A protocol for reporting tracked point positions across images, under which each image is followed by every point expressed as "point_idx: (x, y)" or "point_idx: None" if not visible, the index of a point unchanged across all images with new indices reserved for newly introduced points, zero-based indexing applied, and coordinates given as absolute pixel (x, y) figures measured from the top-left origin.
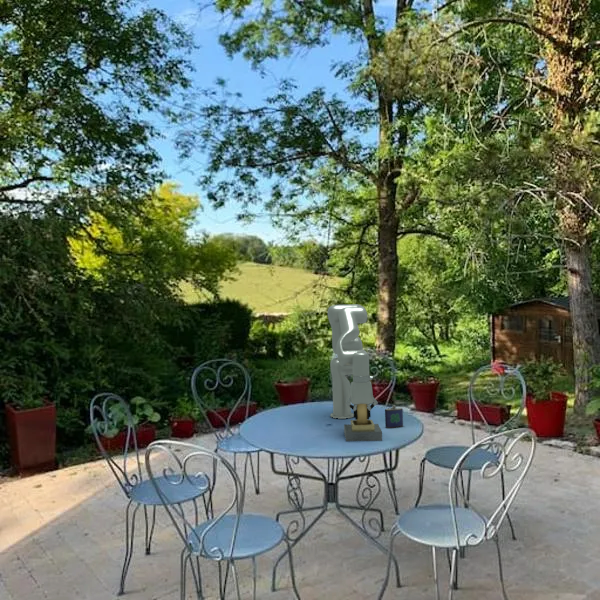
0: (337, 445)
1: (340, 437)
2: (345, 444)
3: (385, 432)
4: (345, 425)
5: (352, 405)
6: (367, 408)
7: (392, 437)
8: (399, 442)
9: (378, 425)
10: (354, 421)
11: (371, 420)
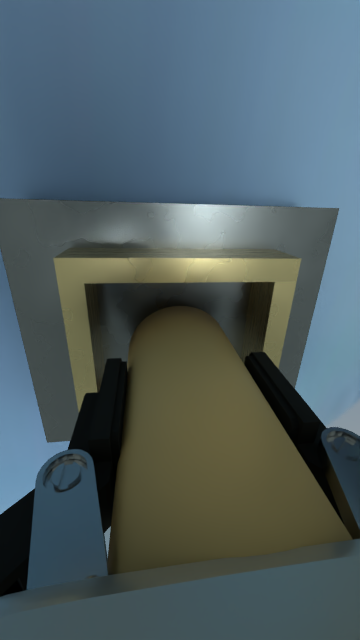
0: (24, 458)
1: (16, 322)
2: (65, 444)
3: (342, 216)
4: (14, 244)
5: (5, 589)
6: (310, 468)
7: (334, 334)
8: (330, 411)
9: (320, 271)
10: (105, 279)
11: (285, 294)
